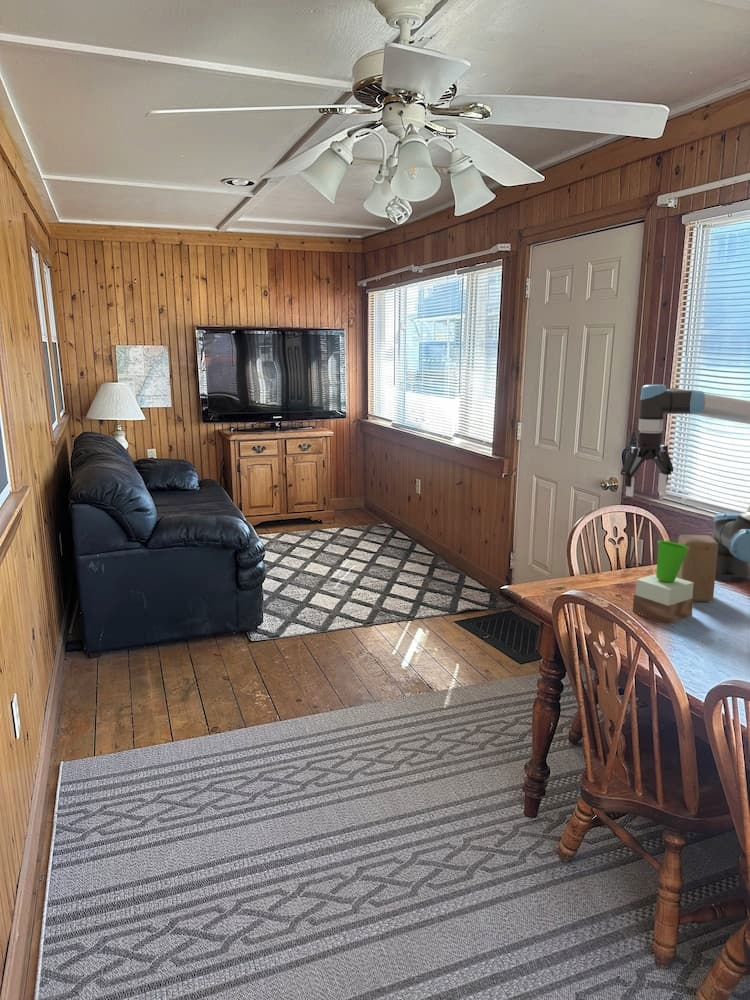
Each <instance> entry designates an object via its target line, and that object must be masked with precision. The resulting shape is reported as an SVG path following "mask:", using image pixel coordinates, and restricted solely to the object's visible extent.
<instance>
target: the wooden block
mask: <svg viewBox="0 0 750 1000" xmlns="http://www.w3.org/2000/svg"><path fill="white" fill-rule="evenodd" d="M677 541H678V542H677V543H678V544H682V545H684V546H687V547H689V549H690V550H688V551H687V553H686V556H685V558H684V560H683V563H682V565H681V567H680V569H679V572H678V574H677V576H676V578H680V579H683V580H687V581H690V582H694V584H693V595H692V598H693V602H701V601H702V603H703V602H706V603H711V602H713V600H714V592H715V586H716V585H715V583H716V579H715V575H716V564H717V554H718V543H717V542H716V541H715V540H714V539H713V536H711V535H706V534H705V535H704V534H701V535H700V534H680V535H679V536H678V540H677Z"/></svg>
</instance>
